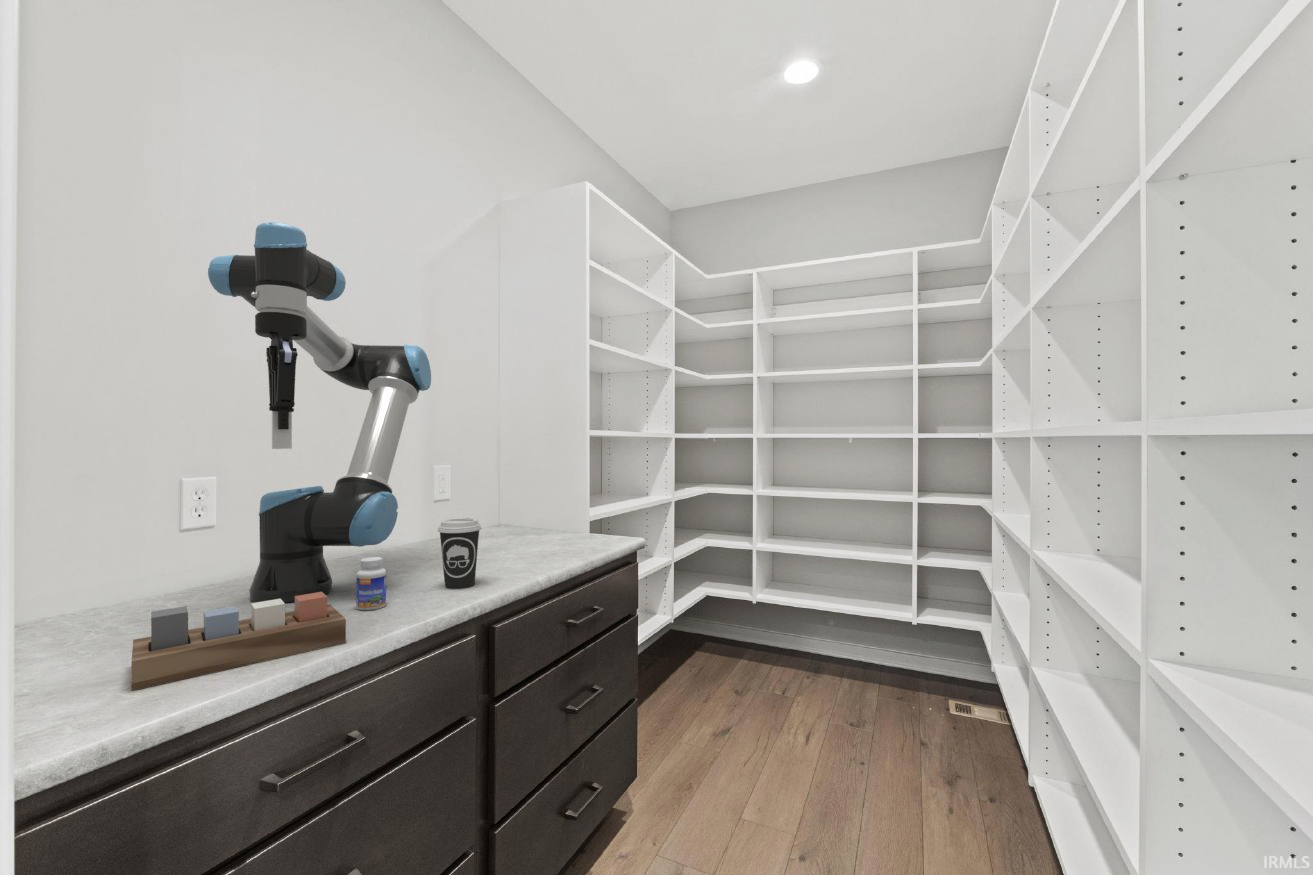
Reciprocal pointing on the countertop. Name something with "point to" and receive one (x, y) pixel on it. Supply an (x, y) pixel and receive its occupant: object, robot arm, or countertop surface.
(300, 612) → the key brick
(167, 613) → the key charcoal
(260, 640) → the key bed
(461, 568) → the coffee cup
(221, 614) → the key blue
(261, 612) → the key ivory
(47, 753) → the countertop surface
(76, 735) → the countertop surface
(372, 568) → the pill bottle
